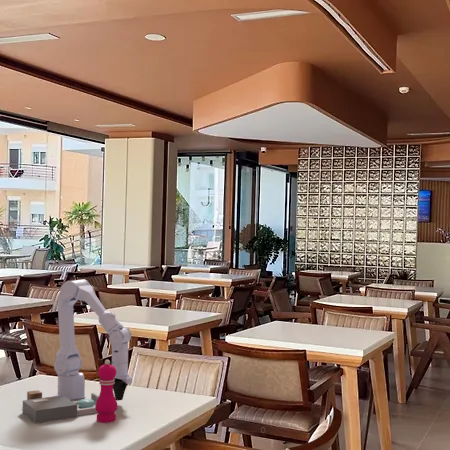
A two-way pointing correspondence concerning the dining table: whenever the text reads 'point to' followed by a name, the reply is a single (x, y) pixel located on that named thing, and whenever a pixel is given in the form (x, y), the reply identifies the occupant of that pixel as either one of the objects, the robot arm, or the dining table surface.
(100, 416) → the pepper mill
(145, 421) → the dining table surface
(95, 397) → the tray
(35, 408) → the box
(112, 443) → the dining table surface
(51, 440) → the dining table surface
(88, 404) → the disc
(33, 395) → the walnut block
